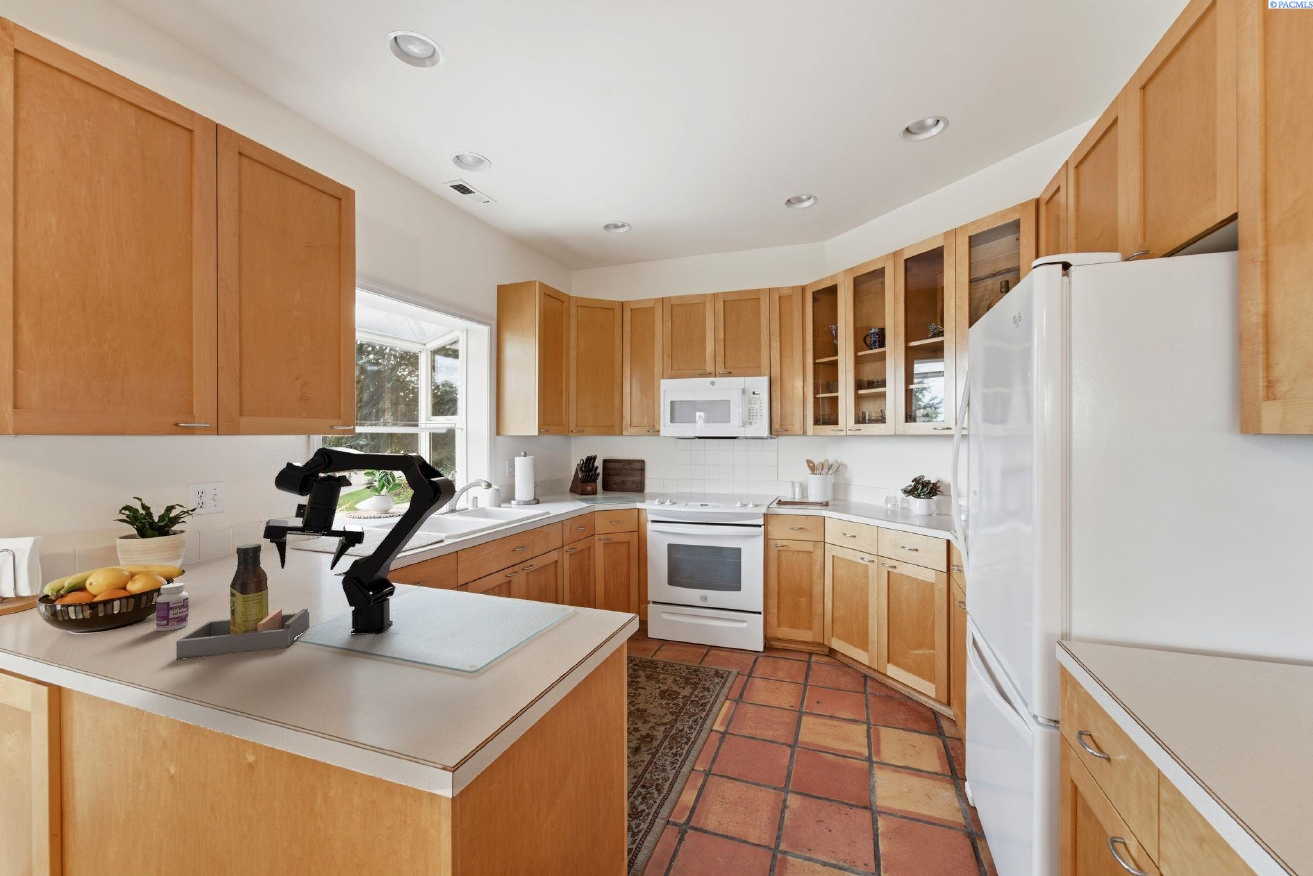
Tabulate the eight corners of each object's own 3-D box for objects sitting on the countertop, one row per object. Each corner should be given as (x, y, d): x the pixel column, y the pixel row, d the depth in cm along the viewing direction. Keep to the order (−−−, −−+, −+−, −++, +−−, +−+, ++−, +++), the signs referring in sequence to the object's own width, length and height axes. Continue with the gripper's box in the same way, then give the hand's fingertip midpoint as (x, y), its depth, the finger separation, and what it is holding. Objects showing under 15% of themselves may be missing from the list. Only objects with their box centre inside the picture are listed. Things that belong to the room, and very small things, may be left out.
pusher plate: (282, 628, 113) (282, 609, 113) (263, 644, 104) (263, 623, 104) (276, 629, 113) (276, 609, 113) (257, 645, 104) (257, 623, 104)
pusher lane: (309, 627, 116) (309, 607, 116) (288, 647, 104) (288, 625, 104) (210, 637, 111) (210, 616, 111) (176, 659, 99) (176, 636, 99)
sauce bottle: (236, 637, 109) (235, 543, 109) (272, 632, 112) (271, 540, 112) (225, 648, 103) (224, 549, 103) (263, 642, 106) (262, 546, 106)
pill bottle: (173, 632, 114) (172, 588, 114) (149, 632, 114) (149, 588, 114) (195, 623, 119) (195, 581, 119) (172, 623, 119) (172, 581, 119)
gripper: (366, 497, 128) (351, 558, 128) (273, 488, 117) (258, 554, 117) (371, 509, 118) (355, 575, 119) (271, 500, 108) (254, 572, 108)
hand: (307, 568), depth 116 cm, fingers open, 9 cm apart
